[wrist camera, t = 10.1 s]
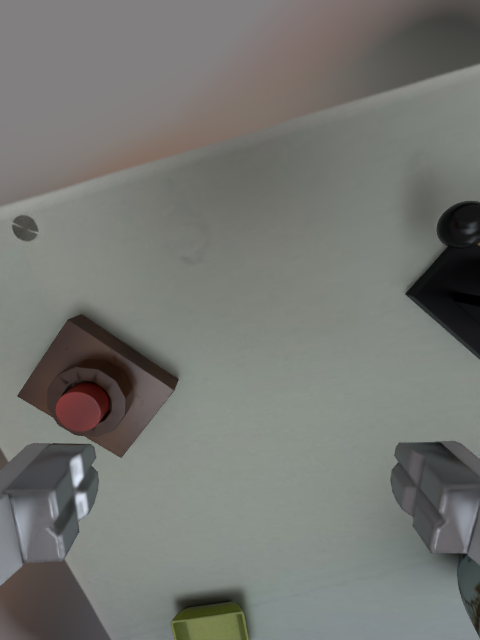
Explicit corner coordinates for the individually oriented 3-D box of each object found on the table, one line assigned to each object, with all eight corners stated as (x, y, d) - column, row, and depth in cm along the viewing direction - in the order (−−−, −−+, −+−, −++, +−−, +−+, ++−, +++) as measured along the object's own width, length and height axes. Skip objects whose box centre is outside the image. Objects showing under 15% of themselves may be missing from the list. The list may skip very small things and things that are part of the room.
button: (59, 405, 25) (46, 416, 23) (81, 374, 24) (69, 383, 22) (95, 426, 25) (86, 439, 23) (117, 397, 25) (109, 408, 23)
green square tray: (173, 601, 35) (169, 622, 33) (243, 591, 35) (243, 612, 33) (185, 649, 37) (183, 672, 35) (251, 640, 37) (253, 663, 35)
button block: (33, 385, 28) (1, 406, 24) (80, 313, 26) (55, 324, 23) (128, 443, 30) (113, 472, 26) (178, 379, 28) (170, 400, 24)
